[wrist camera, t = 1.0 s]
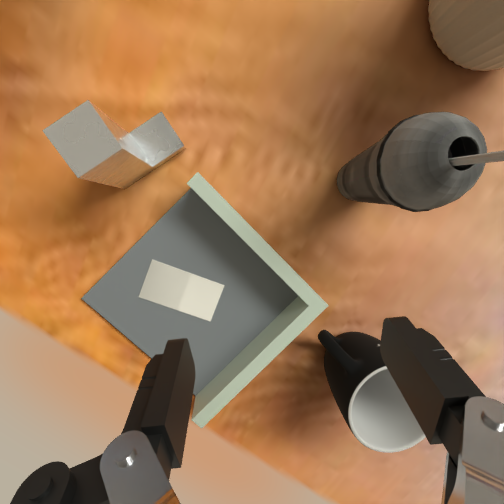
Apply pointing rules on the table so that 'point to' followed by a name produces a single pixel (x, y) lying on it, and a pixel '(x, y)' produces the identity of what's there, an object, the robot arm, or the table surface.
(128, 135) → the bracket
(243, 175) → the table surface
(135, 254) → the mat
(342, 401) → the mug
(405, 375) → the robot arm
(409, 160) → the beverage cup
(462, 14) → the canister
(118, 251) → the table surface
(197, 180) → the corner walls
